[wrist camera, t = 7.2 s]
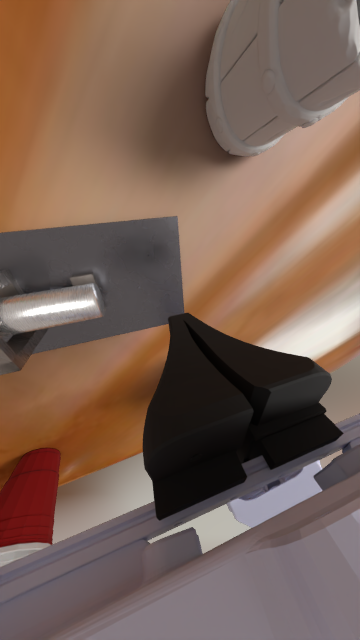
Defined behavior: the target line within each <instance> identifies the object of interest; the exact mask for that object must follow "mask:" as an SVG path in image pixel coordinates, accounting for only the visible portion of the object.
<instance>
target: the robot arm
mask: <svg viewBox="0 0 360 640" xmlns="http://www.w3.org/2000/svg"><path fill="white" fill-rule="evenodd" d="M168 322H169V329H170V344H169V351H168V356H167V360H166V364H165V367H164V370H163V373H162V376H161V379H160V381H159V384H158V387H157V389H156V392H155V394H154V396H153V398H152V400H151V402H150V404H149V407H148V410H147V415H146V420H145V426H144V433H143V457H144V466H145V470H146V471H147V473H148V475H149V476H150V478H151V480H152V482H153V491H154V502H151V503H149V504H147V505H144V506H142V507H140V508H137V509H135V510H133V511H130V512H128V513H126V514H123V515H121V516H119V517H116V518H114V519H112V520H109V521H107V522H105V523H102V524H100V525H98V526H95V527H93V528H91V529H88V530H86V531H84V532H81V533H79V534H77V535H74V536H72V537H70V538H67V539H65V540H63V541H60V542H58V543H56V544H53V545H51V546H48V547H46V548H44V549H41V550H39V551H37V552H34V553H32V554H30V555H27V556H25V557H23V558H20V559H18V560H16V561H13V562H11V563H9V564H6V565H4V566H2V567H0V640H360V414H357V415H355V416H352V417H350V418H348V419H345V420H343V421H341V422H339V423H336V424H334V423H333V422H332V421H331V420H330V419H329V418H327V417H326V415H325V414H324V413H325V412H326V409H325V408H324V407H323V406H322V405H321V404H320V403H319V401H320V399H321V398H322V396H323V395H324V394H325V392H326V391H327V389H328V388H329V386H330V384H331V380H332V379H331V376H330V374H329V373H328V372H327V371H325V370H324V369H323V368H322V367H320V366H319V365H318V364H316V363H315V362H314V361H312V360H311V359H310V358H308V357H303V356H297V355H292V354H287V353H282V352H277V351H273V350H269V349H265V348H262V347H258V346H255V345H252V344H249V343H246V342H243V341H240V340H238V339H235V338H233V337H230V336H228V335H226V334H224V333H222V332H220V331H218V330H216V329H214V328H212V327H210V326H208V325H207V324H205V323H203V322H202V321H200V320H199V319H197V318H195V317H194V316H192V315H191V314H189V313H184V314H179V315H174V316H170V317H169V318H168ZM341 449H342V453H343V454H341V455H339V456H338V457H336V458H334V459H333V460H332V462H331V463H330V464H328V465H327V466H326V467H325V468H323V469H322V467H321V466H320V461H319V460H320V459H322V458H324V457H326V456H329V455H331V454H333V453H335V452H337V451H339V450H341ZM224 504H227V506H228V508H229V510H230V511H231V512H232V513H233V515H234V517H235V519H236V520H237V521H239V522H241V523H243V524H245V525H247V526H249V527H251V529H249V530H247V531H245V532H244V533H242V534H240V535H238V536H236V537H234V538H232V539H230V540H229V541H227V542H225V543H223V544H221V545H219V546H217V547H215V548H214V549H212V550H210V551H208V552H206V553H204V554H203V553H202V550H201V545H200V541H199V537H198V535H197V534H196V530H195V529H194V528H193V527H191V528H189V529H186V530H183V531H181V532H178V533H175V534H173V535H170V536H167V537H165V538H162V539H160V540H158V541H156V542H153V543H152V544H150V543H149V542H147V541H148V540H150V539H152V538H154V537H156V536H158V535H161V534H163V533H165V532H167V531H169V530H171V529H173V528H175V527H178V526H180V525H182V524H184V523H186V522H188V521H190V520H192V519H195V518H197V517H199V516H201V515H203V514H205V513H207V512H210V511H212V510H214V509H216V508H218V507H220V506H222V505H224Z"/></svg>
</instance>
